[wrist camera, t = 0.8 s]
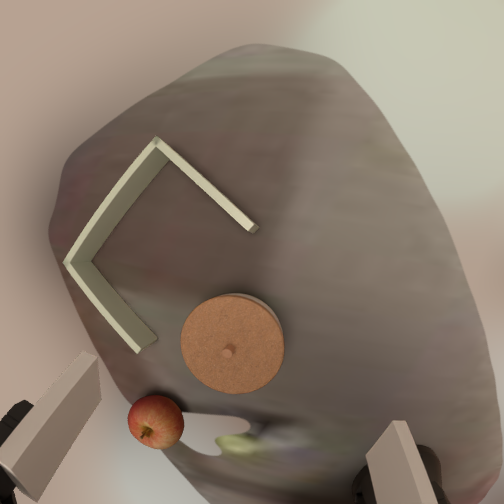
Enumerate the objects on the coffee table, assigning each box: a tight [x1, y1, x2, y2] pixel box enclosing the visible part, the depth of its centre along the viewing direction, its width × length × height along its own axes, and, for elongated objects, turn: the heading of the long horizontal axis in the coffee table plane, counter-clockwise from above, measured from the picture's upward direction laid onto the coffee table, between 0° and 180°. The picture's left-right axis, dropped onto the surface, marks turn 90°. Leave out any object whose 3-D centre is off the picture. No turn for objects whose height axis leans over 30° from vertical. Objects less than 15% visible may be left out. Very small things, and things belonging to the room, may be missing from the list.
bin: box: [63, 136, 259, 354], centre depth 35 cm, size 16×21×5 cm
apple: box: [128, 395, 184, 449], centre depth 34 cm, size 8×8×8 cm
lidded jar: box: [181, 293, 284, 394], centre depth 32 cm, size 11×11×9 cm
